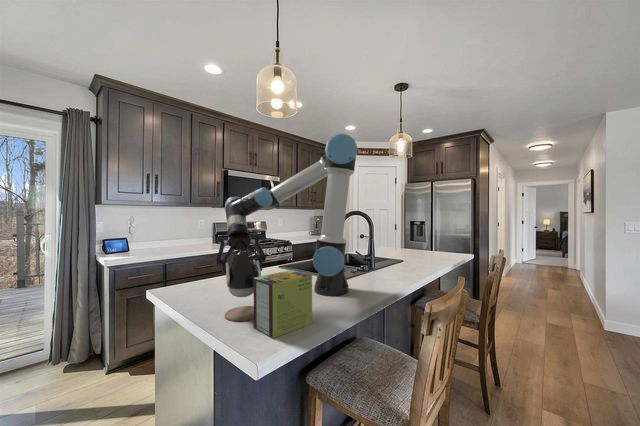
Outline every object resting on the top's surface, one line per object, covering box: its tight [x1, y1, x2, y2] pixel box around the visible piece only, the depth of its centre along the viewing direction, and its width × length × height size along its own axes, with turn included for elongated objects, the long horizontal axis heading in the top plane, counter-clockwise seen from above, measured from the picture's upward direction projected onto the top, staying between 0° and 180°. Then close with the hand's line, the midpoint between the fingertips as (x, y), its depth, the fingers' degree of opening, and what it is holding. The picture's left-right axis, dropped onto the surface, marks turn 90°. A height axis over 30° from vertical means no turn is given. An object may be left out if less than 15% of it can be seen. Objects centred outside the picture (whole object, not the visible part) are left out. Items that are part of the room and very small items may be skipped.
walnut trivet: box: [224, 305, 254, 323], centre depth 95 cm, size 13×13×1 cm
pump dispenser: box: [226, 250, 258, 298], centre depth 95 cm, size 10×10×15 cm
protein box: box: [253, 269, 313, 339], centre depth 86 cm, size 10×15×16 cm
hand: (244, 279), depth 93 cm, fingers closed on pump dispenser, 10 cm apart
